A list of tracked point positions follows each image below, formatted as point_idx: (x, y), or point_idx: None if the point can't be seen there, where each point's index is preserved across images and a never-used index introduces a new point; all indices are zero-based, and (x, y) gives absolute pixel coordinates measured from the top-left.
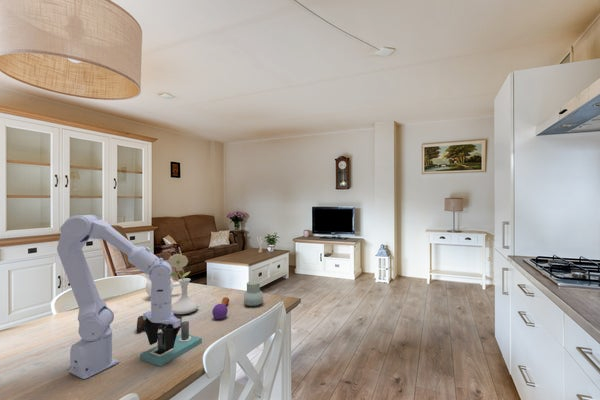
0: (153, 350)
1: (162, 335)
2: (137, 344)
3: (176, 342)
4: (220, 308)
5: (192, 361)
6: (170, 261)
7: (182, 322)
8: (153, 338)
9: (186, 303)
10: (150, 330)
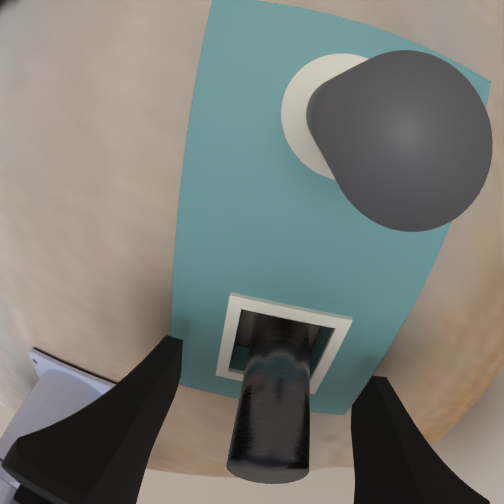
0: (208, 345)
1: (296, 476)
2: (21, 229)
3: (302, 205)
4: None
5: (487, 323)
6: None
7: (349, 144)
8: (166, 392)
9: None
10: (140, 471)
